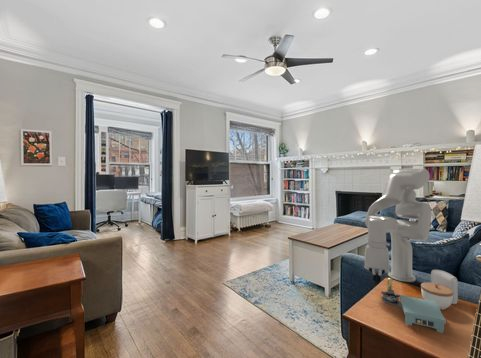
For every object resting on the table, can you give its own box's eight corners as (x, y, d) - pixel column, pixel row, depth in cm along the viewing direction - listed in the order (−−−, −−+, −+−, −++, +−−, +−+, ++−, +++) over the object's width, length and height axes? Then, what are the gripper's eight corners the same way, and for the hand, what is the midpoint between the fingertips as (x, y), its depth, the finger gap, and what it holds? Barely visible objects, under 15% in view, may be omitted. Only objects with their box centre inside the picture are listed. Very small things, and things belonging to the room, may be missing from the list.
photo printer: (428, 293, 113) (429, 267, 113) (436, 292, 114) (436, 267, 113) (451, 305, 103) (451, 276, 102) (459, 304, 103) (460, 275, 103)
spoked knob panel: (381, 295, 111) (381, 285, 111) (431, 305, 102) (431, 294, 102) (384, 320, 92) (384, 308, 92) (446, 335, 83) (446, 321, 83)
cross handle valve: (380, 291, 113) (380, 276, 113) (397, 294, 110) (398, 279, 110) (381, 301, 105) (381, 284, 104) (400, 305, 101) (400, 288, 101)
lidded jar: (459, 314, 96) (459, 291, 96) (429, 311, 98) (429, 288, 98) (442, 300, 106) (442, 279, 106) (415, 298, 109) (415, 277, 108)
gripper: (394, 244, 113) (394, 282, 113) (359, 240, 120) (359, 276, 120) (396, 248, 106) (396, 289, 106) (359, 244, 113) (359, 282, 113)
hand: (376, 282), depth 113 cm, fingers closed
